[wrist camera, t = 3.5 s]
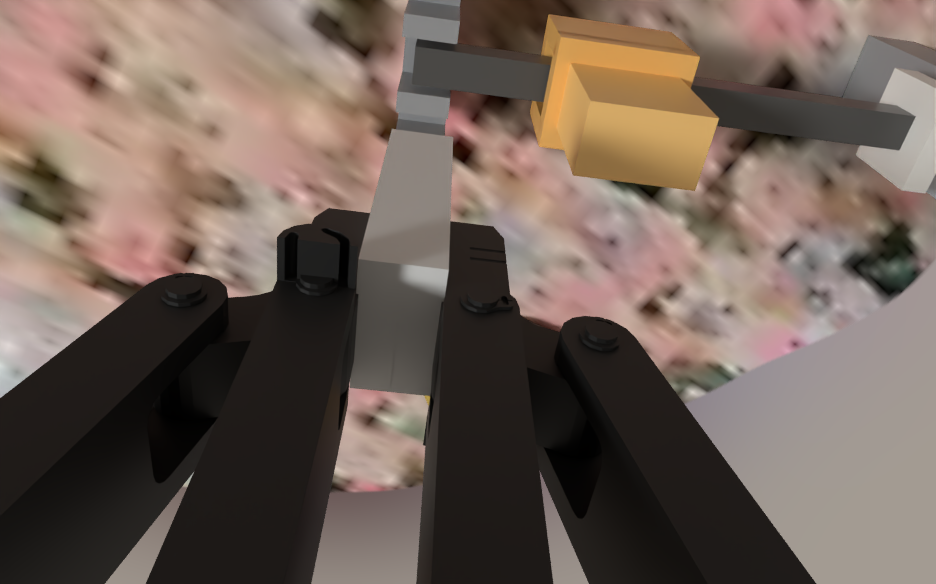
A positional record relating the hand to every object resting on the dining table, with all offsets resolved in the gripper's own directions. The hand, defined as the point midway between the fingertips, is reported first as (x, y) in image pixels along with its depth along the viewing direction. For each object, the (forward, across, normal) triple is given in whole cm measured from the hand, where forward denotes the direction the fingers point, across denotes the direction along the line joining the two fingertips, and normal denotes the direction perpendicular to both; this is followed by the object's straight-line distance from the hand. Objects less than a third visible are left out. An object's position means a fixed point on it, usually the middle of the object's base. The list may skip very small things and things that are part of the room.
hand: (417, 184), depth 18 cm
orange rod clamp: (+13, +7, 0) cm, 15 cm away
